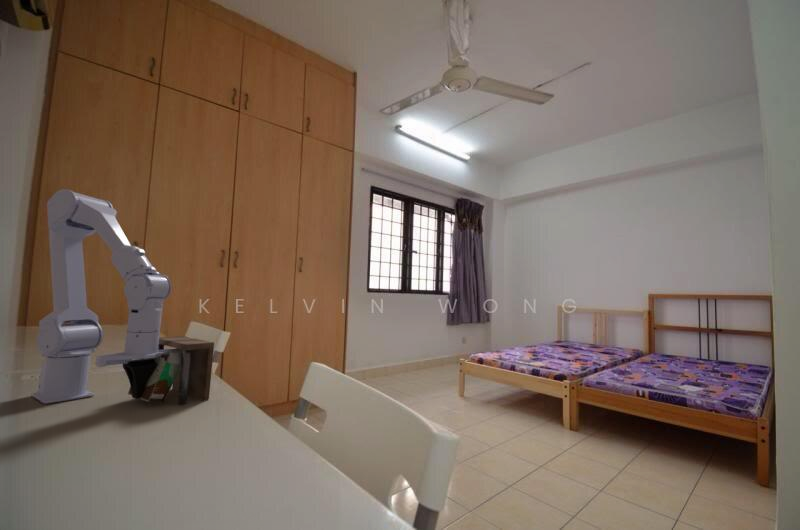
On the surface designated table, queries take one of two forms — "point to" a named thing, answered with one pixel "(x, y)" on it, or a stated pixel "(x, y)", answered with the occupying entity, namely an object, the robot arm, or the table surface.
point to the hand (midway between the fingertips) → (136, 397)
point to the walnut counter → (191, 366)
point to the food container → (161, 378)
